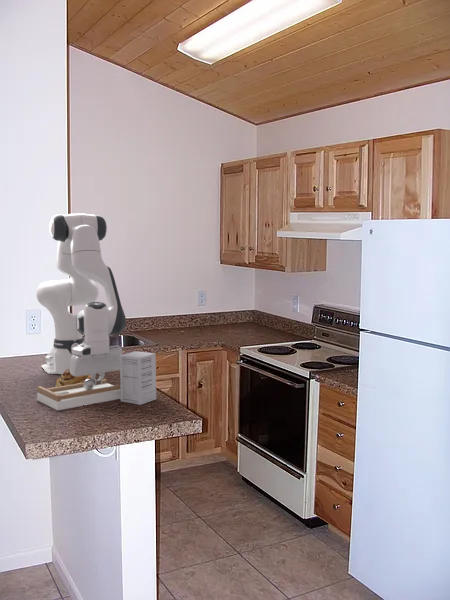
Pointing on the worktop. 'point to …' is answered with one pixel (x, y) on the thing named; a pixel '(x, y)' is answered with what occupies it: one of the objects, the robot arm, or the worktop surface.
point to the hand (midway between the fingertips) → (97, 385)
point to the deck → (77, 395)
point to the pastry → (70, 379)
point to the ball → (88, 384)
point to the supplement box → (138, 377)
